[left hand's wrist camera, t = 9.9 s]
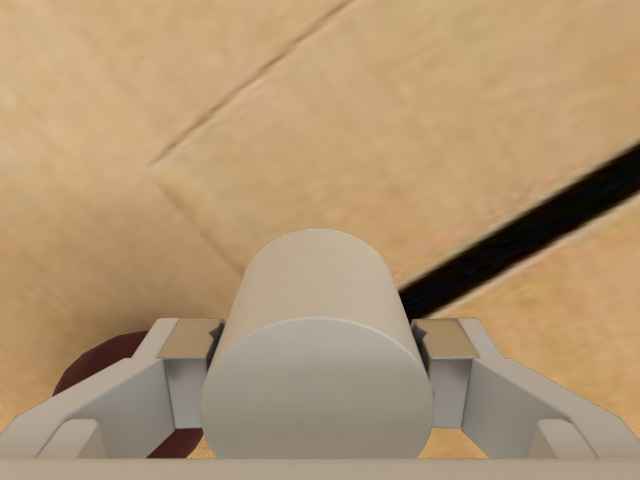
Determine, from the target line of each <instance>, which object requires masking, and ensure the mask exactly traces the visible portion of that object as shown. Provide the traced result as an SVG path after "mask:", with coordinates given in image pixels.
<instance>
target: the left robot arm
mask: <svg viewBox="0 0 640 480" xmlns="http://www.w3.org/2000/svg"><path fill="white" fill-rule="evenodd" d="M224 327H225V321H224V319H211V318H159V319H157V320H156V322H155V323H154V325H153V326H152V328H151V329H150V331H149V332H148V334H147V335H146V337H145V338H144V340H143V341H142V343H141V344H140V346H139V347H138V349H137V350H136V352H135V353H134V355H133V356H132V358H124V359H122V360H120V361H118V362H116V363H115V364H113V365H111V366H109V367H107V368H105V369H103V370H102V371H100V372H98V373H96V374H94V375H92V376H90V377H89V378H87V379H85V380H83V381H81V382H79V383H77V384H76V385H74V386H72V387H70V388H68V389H66V390H64V391H63V392H61V393H59V394H57V395H55V396H53V397H52V398H50V399H48V400H46V401H44V402H42V403H40V404H39V405H37V406H35V407H33V408H31V409H29V410H27V411H26V412H24V413H22V414H20V415H18V416H16V417H15V418H14V419H13V420H12V421H11V422H10V424H9V425H8V426H7V427H6V428H5V429H4V430H3V431H2V433H1V434H0V480H640V440H639V439H638V437H637V436H636V435H635V434H634V433H633V432H632V431H631V429H630V428H629V427H628V426H627V425H626V424H625V422H624V421H623V420H622V419H621V418H620V417H618V416H616V415H615V414H613V413H611V412H609V411H607V410H605V409H604V408H602V407H600V406H598V405H596V404H594V403H593V402H591V401H589V400H587V399H585V398H583V397H582V396H580V395H578V394H576V393H574V392H572V391H571V390H569V389H567V388H565V387H563V386H561V385H560V384H558V383H556V382H554V381H552V380H550V379H549V378H547V377H545V376H543V375H541V374H539V373H538V372H536V371H534V370H532V369H530V368H528V367H527V366H525V365H523V364H521V363H519V362H517V361H516V360H514V359H512V358H504V356H503V355H502V353H501V352H500V350H499V349H498V347H497V346H496V344H495V343H494V341H493V340H492V338H491V337H490V335H489V334H488V332H487V331H486V329H485V328H484V326H483V325H482V323H481V322H480V320H479V319H478V318H476V317H474V318H445V319H413V320H412V323H411V331H412V334H413V337H414V339H415V342H416V345H417V348H418V351H419V353H420V356H421V359H422V362H423V365H424V367H425V370H426V373H427V376H428V379H429V381H430V384H431V388H432V392H433V396H434V408H435V410H434V420H433V425H432V428H456V429H462V431H463V432H464V433H465V434H466V435H467V436H468V437H469V438H470V439H471V440H472V441H473V442H474V443H475V444H476V445H477V446H478V447H479V448H480V449H481V450H482V451H483V452H484V453H485V454H487V455H488V456H489V457H490V458H480V459H145V458H146V457H147V456H148V455H150V454H151V453H152V452H153V451H154V450H155V449H156V448H157V447H158V446H159V445H160V444H161V443H162V442H163V441H164V440H165V439H166V438H167V437H168V436H170V435H171V434H172V433H173V432H174V429H180V428H202V427H201V421H200V415H199V401H200V395H201V390H202V387H203V384H204V381H205V378H206V376H207V373H208V370H209V367H210V365H211V362H212V359H213V357H214V354H215V351H216V349H217V346H218V343H219V341H220V338H221V335H222V332H223V330H224Z"/></svg>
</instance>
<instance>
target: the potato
mask: <svg viewBox="0 0 640 480" xmlns="http://www.w3.org/2000/svg"><path fill="white" fill-rule="evenodd" d="M148 332H149V331H143V332H137V333H131V334H125V335H119V336H117V337H114V338H112V339H110V340H108V341H106V342H104V343H102V344H100V345H99V346H97V347H95V348H93V349H91V350H89V351H87V352H86V353H84V354H82V355H81V356H80V357H79V358H78V359H77V360H76V361H75V362H74V363H73V364H72V365H71V366H70V367H69V368H68V369H66V371H65V372H64V374H63V376H62V377H61V379H60V381H59V382H58V384H57V386H56V388H55V391H54V393H53V396H55V395H57V394H59V393H61V392H63V391H64V390H66V389H68V388H70V387H72V386H74V385H76V384H77V383H79V382H81V381H83V380H85V379H87V378H89V377H90V376H92V375H94V374H96V373H98V372H100V371H102V370H103V369H105V368H107V367H109V366H111V365H113V364H115V363H116V362H118V361H120V360H122V359H124V358H132V356H133V355H134V353H135V352H136V350H137V349H138V347H139V346H140V344H141V343H142V341H143V340H144V338H145V337H146V335H147V334H148ZM53 396H52V397H53ZM202 436H203V430H202V428H180V429H174V432H173V433H172V434H171V435H170V436H168V437H167V438H166V439H165V440H164V441H163V442H162V443H161V444H160V445H159V446H158V447H157V448H156V449H155V450H154V451H153V452H152V453H151V454H150V455H148V456H147V457H146V458H145V459H185V458H186V457H187V456H188V455H189V454H190V453H191V452H192V451H193V450H194V449H195V448H196V446H197V445H198V443H199V441H200V440H201V438H202Z"/></svg>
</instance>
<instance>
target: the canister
mask: <svg viewBox="0 0 640 480" xmlns="http://www.w3.org/2000/svg"><path fill="white" fill-rule="evenodd" d="M434 410H435V408H434V396H433V392H432V388H431V384H430V381H429V379H428V376H427V373H426V370H425V367H424V365H423V362H422V359H421V356H420V353H419V351H418V348H417V345H416V342H415V339H414V337H413V334H412V331H411V328H410V325H409V322H408V320H407V317H406V314H405V311H404V308H403V306H402V303H401V300H400V297H399V294H398V292H397V289H396V286H395V283H394V280H393V278H392V275H391V273H390V270H389V268H388V267H387V265H386V263H385V262H384V260H383V259H382V258H381V257H380V255H379V254H378V253H377V252H376V251H375V250H374V249H373V248H372V247H371V246H369V245H368V244H366V243H365V242H363V241H362V240H360V239H358V238H356V237H354V236H353V235H350V234H347V233H344V232H341V231H337V230H332V229H323V228H311V229H304V230H298V231H294V232H291V233H288V234H285V235H283V236H281V237H279V238H277V239H275V240H273V241H272V242H270V243H269V244H267V245H266V246H265V247H264V248H262V249H261V250H260V251H259V252H258V253H257V254H256V255H255V257H254V258H253V259H252V261H251V262H250V264H249V265H248V267H247V269H246V271H245V273H244V276H243V279H242V281H241V284H240V287H239V289H238V292H237V295H236V298H235V300H234V303H233V306H232V308H231V311H230V314H229V316H228V319H227V322H226V324H225V327H224V330H223V332H222V335H221V338H220V341H219V343H218V346H217V349H216V351H215V354H214V357H213V359H212V362H211V365H210V367H209V370H208V373H207V376H206V378H205V381H204V384H203V387H202V390H201V395H200V401H199V415H200V421H201V427H202V430H203V433H204V436H205V439H206V441H207V443H208V445H209V447H210V449H211V450H212V451H213V453H214V454H215V456H216V457H217V459H416V458H417V457H418V456H419V454H420V453H421V451H422V449H423V448H424V446H425V444H426V442H427V440H428V438H429V435H430V432H431V429H432V425H433V420H434Z"/></svg>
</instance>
